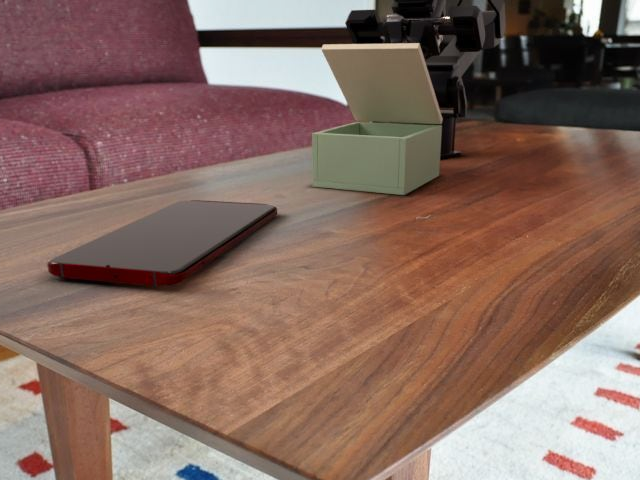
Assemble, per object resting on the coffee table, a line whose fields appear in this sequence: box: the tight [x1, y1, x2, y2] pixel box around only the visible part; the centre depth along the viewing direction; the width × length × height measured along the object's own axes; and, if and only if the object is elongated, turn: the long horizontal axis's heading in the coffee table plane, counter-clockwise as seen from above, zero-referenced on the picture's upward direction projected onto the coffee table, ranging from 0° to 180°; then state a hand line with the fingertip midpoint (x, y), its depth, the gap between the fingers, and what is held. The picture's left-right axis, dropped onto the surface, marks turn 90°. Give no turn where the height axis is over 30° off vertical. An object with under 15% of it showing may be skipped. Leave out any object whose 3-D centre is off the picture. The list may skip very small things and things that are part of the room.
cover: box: [321, 42, 443, 124], centre depth 86 cm, size 14×13×1 cm
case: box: [311, 121, 442, 196], centre depth 88 cm, size 14×13×7 cm
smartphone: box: [46, 199, 278, 287], centre depth 63 cm, size 12×2×25 cm
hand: (396, 77), depth 90 cm, fingers closed
